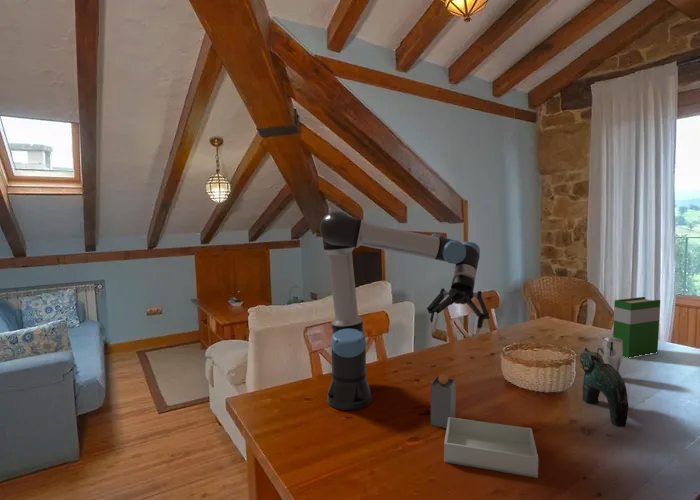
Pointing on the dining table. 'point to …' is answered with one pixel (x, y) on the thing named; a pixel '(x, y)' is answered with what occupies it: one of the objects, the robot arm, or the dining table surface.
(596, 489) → the dining table surface
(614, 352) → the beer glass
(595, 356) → the teal animal figurine
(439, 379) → the ball
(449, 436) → the tray
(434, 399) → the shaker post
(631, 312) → the hardback book
